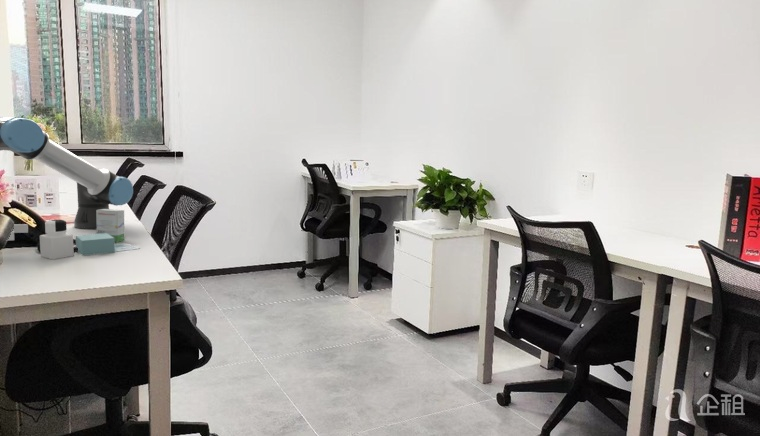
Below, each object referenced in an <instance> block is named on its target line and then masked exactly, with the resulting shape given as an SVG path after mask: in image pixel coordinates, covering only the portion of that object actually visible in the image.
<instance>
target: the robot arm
mask: <svg viewBox="0 0 760 436" xmlns="http://www.w3.org/2000/svg"><path fill="white" fill-rule="evenodd" d="M0 151H9V152H12V153H15V154H16V155H18V156H20V157H22V158H23V159H26V160H27V161H32V160H36V161H38V162H40V163H42V164H43V165H45V166H47V167H49V168H50V169H52V170H54V171H56V172H58V173H59V174H61V175H64V176H65V177H66V178H68V179H70V180H72V181H74V182H75V183H76V191H77V211H76V214H75V218H74V222H73V225H74V228H77V229H88V230H90V229H95V230H96V229H97V222H96V210H100V209H110V206H109V205H113V206H116V207H117V206H124V205H126V204H127V203H129V202H130V200H131V199H132V198H133V194H134V187H133V186H134V185H133V183H132V181H131V180H130V179H128V178H127V177H125V176H119V175H116V174H115V173H113V172H112V171H110V170H108V169H106V168H102V169H101V168H100V169H99V168H97V167H96V166H94V165H93V164H91V163H89V162H88V161H86V160H84V159H83V158H81V157H79V156H77V155H76V154H74V153H73V152H71V151H69V150H68V149H65V148H64V147H62V146H61V145H60V144H57V143H56V142H54V141H52V140H51V139H50V136H49V134H48V133H47V132H46V131H44V130H43V128H42V127H41V125H39V124H38V123H37V122H36V121H34V120H33V119H29V118H25V117H20V116H18V117H17V116H16V117H5V116H4V117H3V116H0ZM18 233H19V234H21V233H24V234H25V233H26V234H27V233H29V224H28V223H27V224H25V223H22V224H21V223H19V224H16V223H15V224H14V229H13V231H12V232H11V235H10V237H9V239H8V240H7V241H15V234H18Z"/></svg>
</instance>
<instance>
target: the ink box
mask: <svg viewBox="0 0 760 436" xmlns="http://www.w3.org/2000/svg"><path fill="white" fill-rule="evenodd" d="M96 222H97V228H96V234H103V233H107V234H109V235H110V236H112V237H114V243H119V242H122V241H125V209H112V208H111V209H110V208H109V209H100V210H96Z"/></svg>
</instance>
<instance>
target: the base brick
mask: <svg viewBox="0 0 760 436" xmlns="http://www.w3.org/2000/svg"><path fill="white" fill-rule="evenodd" d="M115 244H116V243H115V242H114V237H112V236H110V235H109V234H107V233H103V234H97V233H93V234H92V233H91V234H90V233H89V234H81V235H80V234H79V235H75V248H76V247H77V248H78V251H77V252H78V253H79V254H80V255H82V256H90V255H92V256H93V255H101V254H109V253H110V254H111V253H115V252H116V251H115Z"/></svg>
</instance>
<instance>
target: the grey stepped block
mask: <svg viewBox="0 0 760 436" xmlns="http://www.w3.org/2000/svg"><path fill="white" fill-rule="evenodd" d="M44 229H45V234H40V235H39V249H40V250H39V251H40V257H41V258H46V259H50V260H58V259H59V260H60V259H65V258H70V257H73V256H74V255H75V251H74V235H73V234H69V233H67V232H68V231H67V230H68V229H67V222H66V220H63V219H49V220H47V221H45V222H44Z"/></svg>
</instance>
